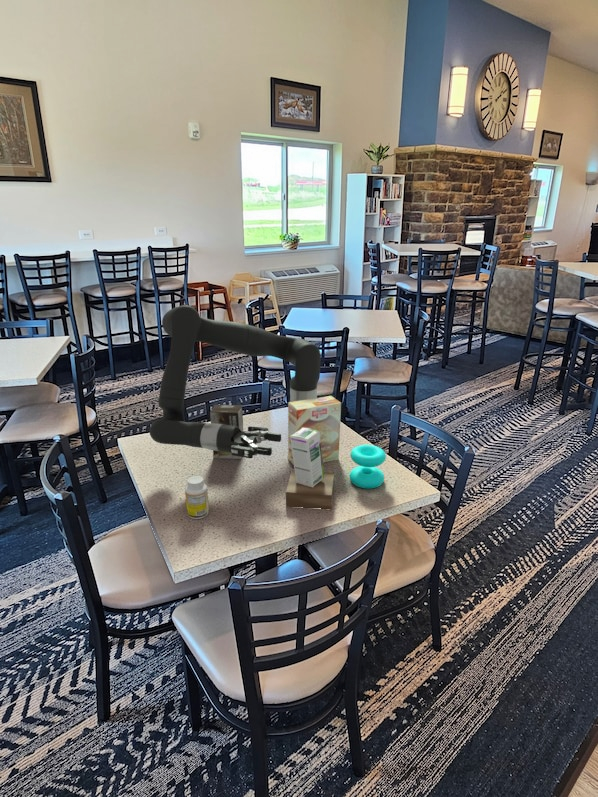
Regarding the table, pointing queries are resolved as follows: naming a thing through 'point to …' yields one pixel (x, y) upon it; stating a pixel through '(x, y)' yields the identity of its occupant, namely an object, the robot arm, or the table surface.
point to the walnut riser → (310, 493)
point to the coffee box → (227, 423)
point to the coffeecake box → (317, 423)
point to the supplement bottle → (196, 498)
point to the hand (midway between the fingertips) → (276, 444)
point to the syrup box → (307, 456)
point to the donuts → (367, 466)
